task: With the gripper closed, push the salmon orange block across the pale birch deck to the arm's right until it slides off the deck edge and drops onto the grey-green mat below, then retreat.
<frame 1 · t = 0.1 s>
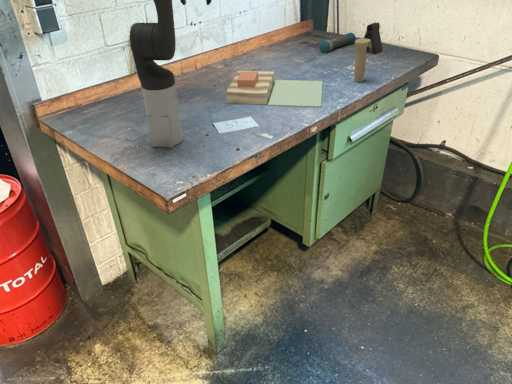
hand: (196, 4, 147), 29 cm above the table, fingers open, 8 cm apart
deck: (251, 92, 157), on the table
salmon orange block: (248, 82, 154), point 4 cm above the table, touching deck
mat: (296, 93, 155), on the table
handle: (358, 81, 163), on the table
phone stand: (370, 51, 194), on the table
flashlight: (336, 48, 200), on the table
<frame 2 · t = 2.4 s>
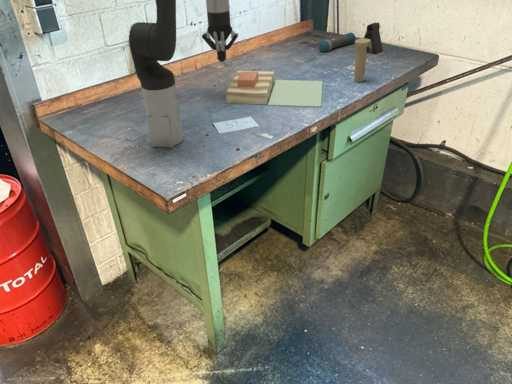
hand: (222, 61, 151), 11 cm above the table, fingers closed
nothing on the table moved.
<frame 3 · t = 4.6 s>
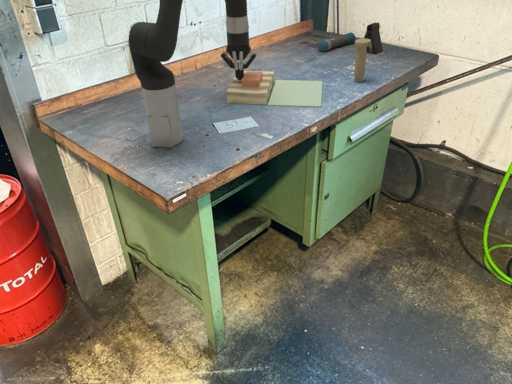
hand: (240, 79, 154), 5 cm above the table, fingers closed
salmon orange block: (252, 82, 154), point 4 cm above the table, touching deck, gripper
everything else where it was.
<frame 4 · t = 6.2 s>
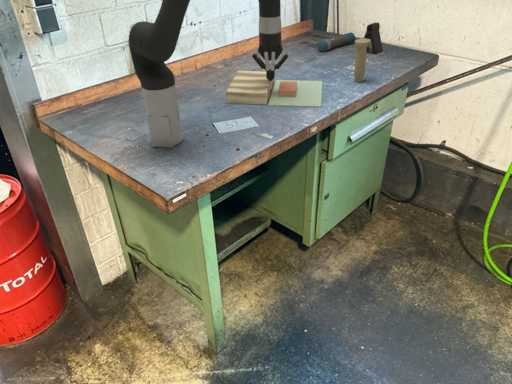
hand: (270, 80, 153), 5 cm above the table, fingers closed
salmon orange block: (287, 85, 153), point 3 cm above the table, tilted 180°, touching mat
everything else where it was.
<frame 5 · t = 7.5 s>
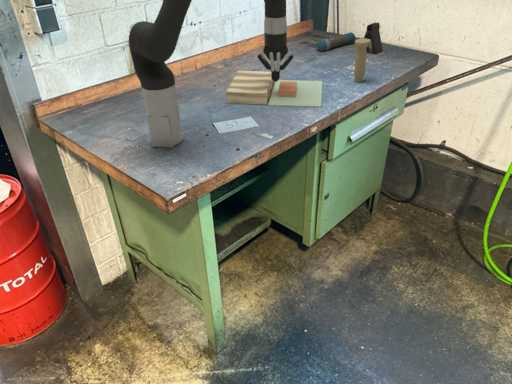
hand: (275, 80, 152), 5 cm above the table, fingers closed
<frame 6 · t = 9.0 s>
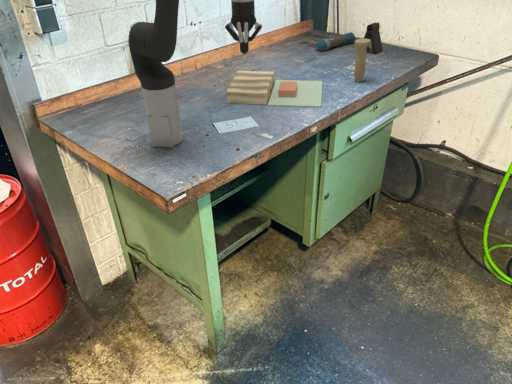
hand: (244, 53, 148), 14 cm above the table, fingers closed
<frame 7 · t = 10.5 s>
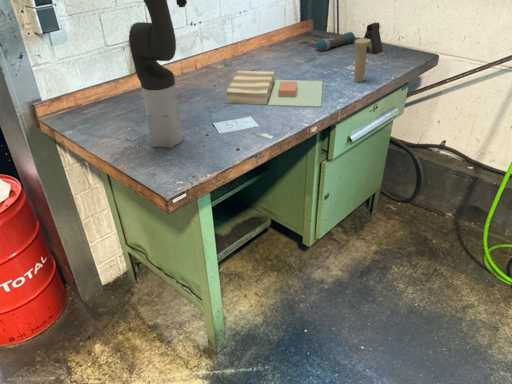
hand: (182, 6, 132), 32 cm above the table, fingers closed
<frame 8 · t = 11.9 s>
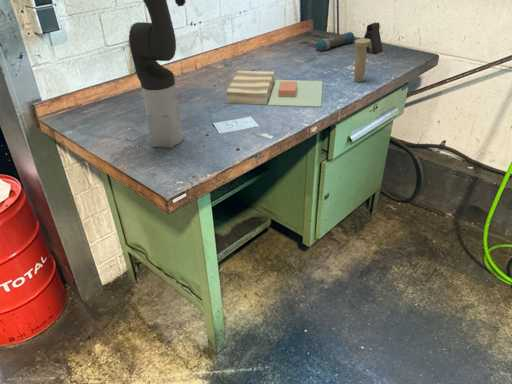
hand: (181, 5, 132), 32 cm above the table, fingers closed
at the end: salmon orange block point 2.8 cm above the table; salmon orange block inside the target area on the mat (3.2 cm from its centre), point 2.8 cm above the mat's base; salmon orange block moved 14.4 cm from its start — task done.
